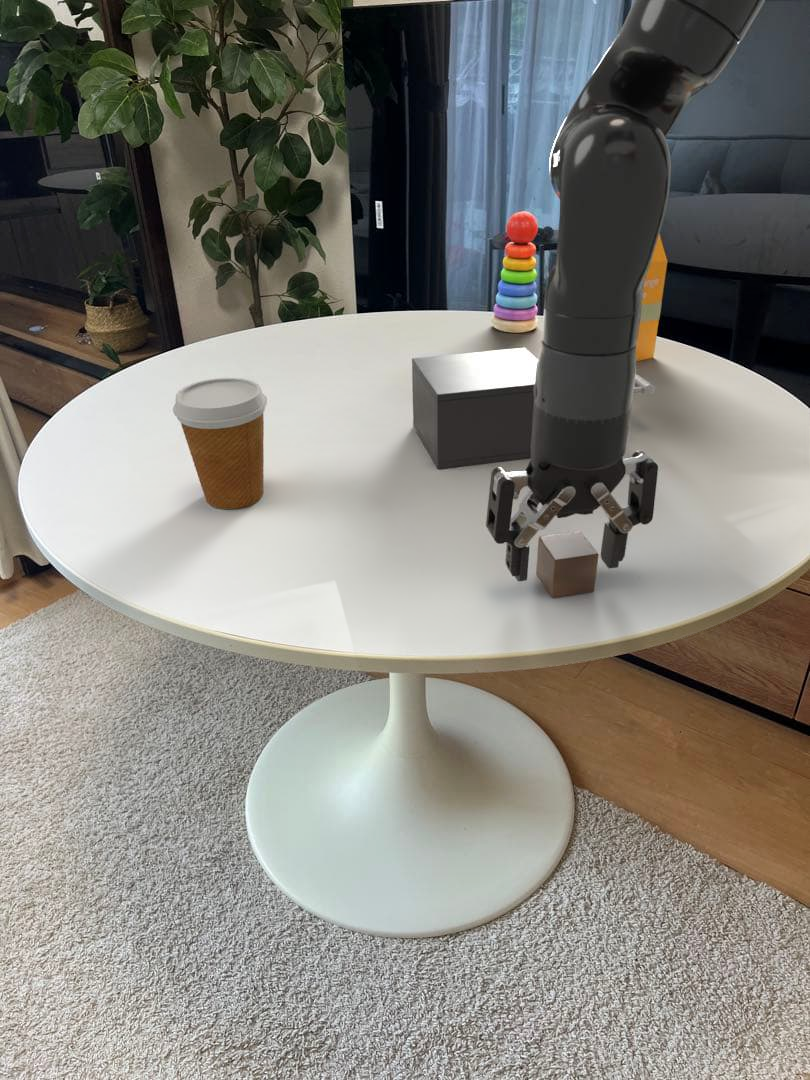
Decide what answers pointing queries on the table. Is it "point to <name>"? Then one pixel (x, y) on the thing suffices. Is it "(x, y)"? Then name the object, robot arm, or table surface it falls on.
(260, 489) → the disposable coffee cup
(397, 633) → the table surface
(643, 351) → the orange juice
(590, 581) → the block
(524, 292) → the stacking toy
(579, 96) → the robot arm
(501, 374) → the cabinet
